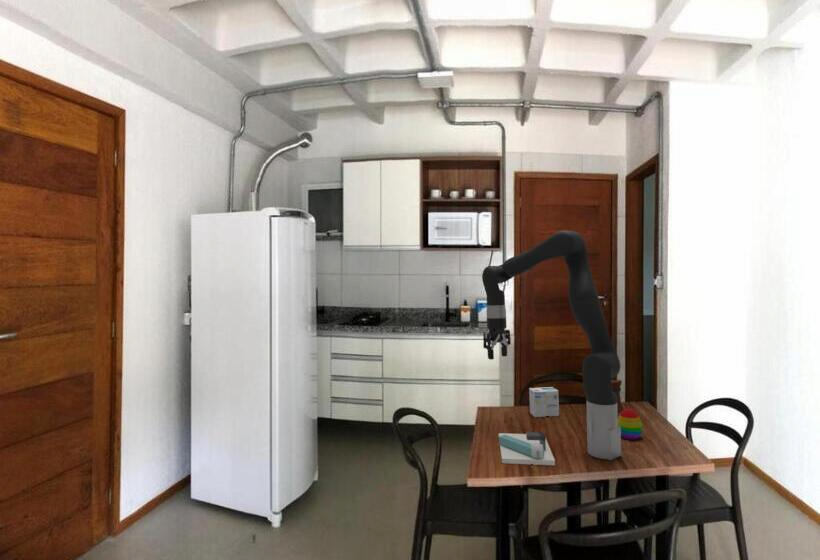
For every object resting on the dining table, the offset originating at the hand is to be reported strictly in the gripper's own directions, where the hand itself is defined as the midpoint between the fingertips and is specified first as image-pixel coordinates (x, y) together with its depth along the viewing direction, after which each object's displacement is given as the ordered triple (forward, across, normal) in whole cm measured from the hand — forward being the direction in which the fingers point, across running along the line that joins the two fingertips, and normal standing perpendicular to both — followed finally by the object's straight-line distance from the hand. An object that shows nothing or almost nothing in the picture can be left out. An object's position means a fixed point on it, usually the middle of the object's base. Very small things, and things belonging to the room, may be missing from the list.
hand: (497, 357), depth 171 cm
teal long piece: (+25, -19, -22) cm, 38 cm away
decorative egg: (+27, +22, -40) cm, 53 cm away
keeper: (+25, -13, -24) cm, 38 cm away
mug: (+27, +43, -22) cm, 55 cm away
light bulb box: (+27, +24, -5) cm, 36 cm away
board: (+27, -14, -20) cm, 37 cm away
